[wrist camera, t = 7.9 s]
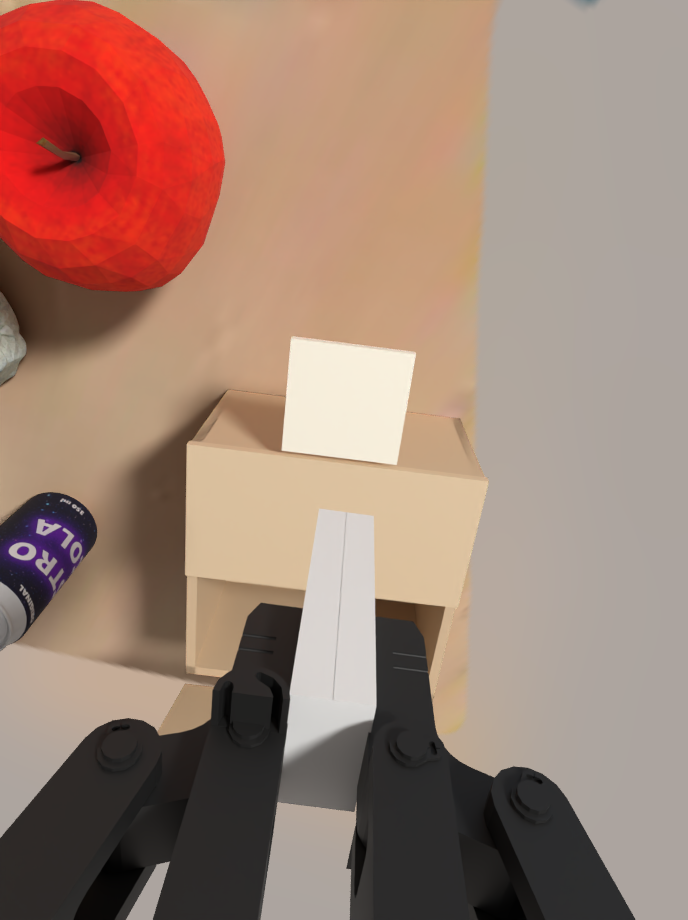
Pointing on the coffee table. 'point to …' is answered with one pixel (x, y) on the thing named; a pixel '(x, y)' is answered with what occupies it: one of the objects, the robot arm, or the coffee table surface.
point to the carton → (229, 602)
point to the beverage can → (39, 557)
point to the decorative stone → (9, 341)
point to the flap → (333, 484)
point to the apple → (102, 149)
